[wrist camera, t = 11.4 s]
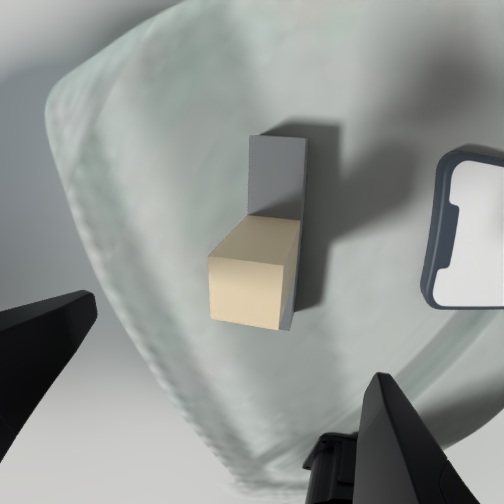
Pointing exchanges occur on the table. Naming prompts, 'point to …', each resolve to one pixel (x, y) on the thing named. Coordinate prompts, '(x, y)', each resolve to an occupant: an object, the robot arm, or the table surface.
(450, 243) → the smartphone
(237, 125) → the table surface
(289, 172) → the scraper
